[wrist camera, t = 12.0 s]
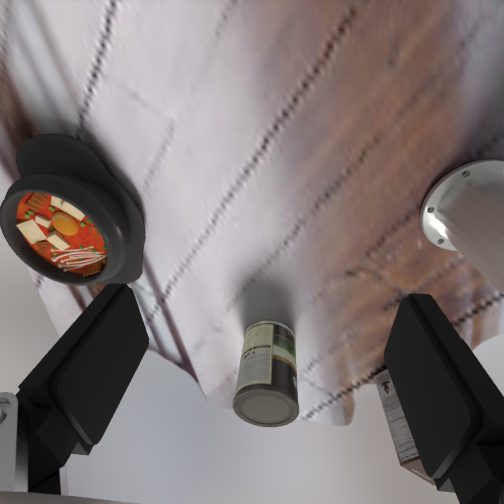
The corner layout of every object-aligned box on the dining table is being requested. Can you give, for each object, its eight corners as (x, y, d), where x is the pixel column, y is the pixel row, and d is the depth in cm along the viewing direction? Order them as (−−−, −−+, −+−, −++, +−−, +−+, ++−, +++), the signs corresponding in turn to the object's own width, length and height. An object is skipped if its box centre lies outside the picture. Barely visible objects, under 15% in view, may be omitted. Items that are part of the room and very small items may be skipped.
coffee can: (300, 324, 52) (306, 397, 40) (289, 358, 57) (291, 432, 45) (246, 315, 52) (235, 385, 40) (240, 350, 57) (229, 421, 45)
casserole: (170, 276, 49) (151, 309, 42) (76, 281, 51) (43, 313, 44) (116, 122, 36) (74, 132, 29) (-5, 140, 39) (-70, 153, 32)
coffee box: (426, 382, 57) (471, 476, 43) (400, 394, 60) (434, 486, 46) (397, 361, 55) (435, 455, 41) (371, 376, 58) (398, 467, 44)
